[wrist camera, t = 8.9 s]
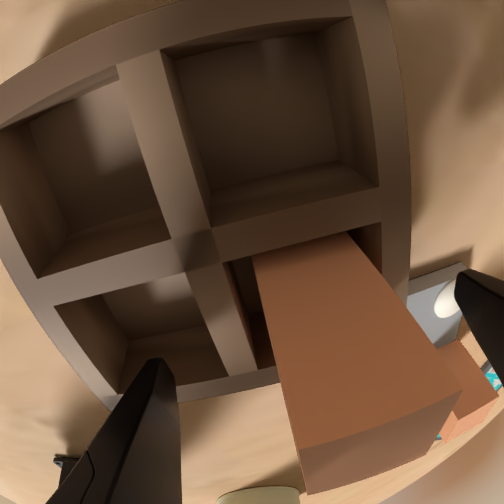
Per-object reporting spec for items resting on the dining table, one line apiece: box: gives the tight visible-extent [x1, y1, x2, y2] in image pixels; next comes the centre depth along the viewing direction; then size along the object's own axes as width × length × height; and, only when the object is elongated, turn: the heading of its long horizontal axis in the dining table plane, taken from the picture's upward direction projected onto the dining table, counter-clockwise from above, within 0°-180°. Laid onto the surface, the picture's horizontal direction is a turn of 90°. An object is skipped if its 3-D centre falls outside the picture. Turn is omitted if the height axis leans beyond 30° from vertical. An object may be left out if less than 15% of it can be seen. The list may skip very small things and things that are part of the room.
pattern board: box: [406, 262, 499, 443], centre depth 14 cm, size 8×8×6 cm
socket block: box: [0, 0, 411, 411], centre depth 10 cm, size 12×12×4 cm
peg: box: [251, 231, 463, 495], centre depth 8 cm, size 3×3×8 cm
